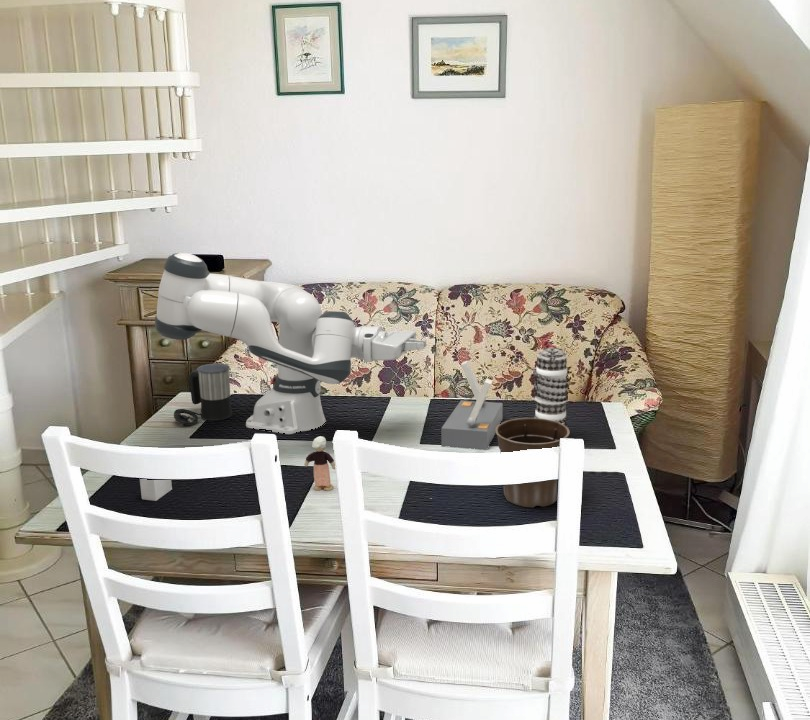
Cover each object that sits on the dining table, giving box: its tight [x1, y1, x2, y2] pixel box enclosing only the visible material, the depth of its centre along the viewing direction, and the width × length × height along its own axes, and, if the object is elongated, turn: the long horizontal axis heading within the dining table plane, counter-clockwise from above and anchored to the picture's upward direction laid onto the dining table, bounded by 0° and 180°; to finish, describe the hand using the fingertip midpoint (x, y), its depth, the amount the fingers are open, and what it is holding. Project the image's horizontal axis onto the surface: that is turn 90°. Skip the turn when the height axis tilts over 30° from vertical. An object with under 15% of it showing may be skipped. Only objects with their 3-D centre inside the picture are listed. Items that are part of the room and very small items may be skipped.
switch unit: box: [440, 400, 504, 450], centre depth 238 cm, size 12×24×5 cm, turn 164°
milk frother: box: [173, 363, 233, 426], centre depth 252 cm, size 14×16×15 cm
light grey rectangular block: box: [139, 478, 173, 502], centre depth 202 cm, size 4×7×10 cm, turn 162°
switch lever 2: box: [467, 378, 493, 426], centre depth 227 cm, size 2×4×13 cm, turn 164°
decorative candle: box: [532, 347, 571, 427], centre depth 227 cm, size 9×9×25 cm
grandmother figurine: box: [303, 435, 336, 491], centre depth 203 cm, size 8×4×13 cm, turn 89°
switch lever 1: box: [460, 360, 487, 405], centre depth 244 cm, size 2×4×13 cm, turn 164°
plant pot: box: [495, 417, 571, 509], centre depth 195 cm, size 16×16×16 cm
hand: (424, 345), depth 227 cm, fingers closed
